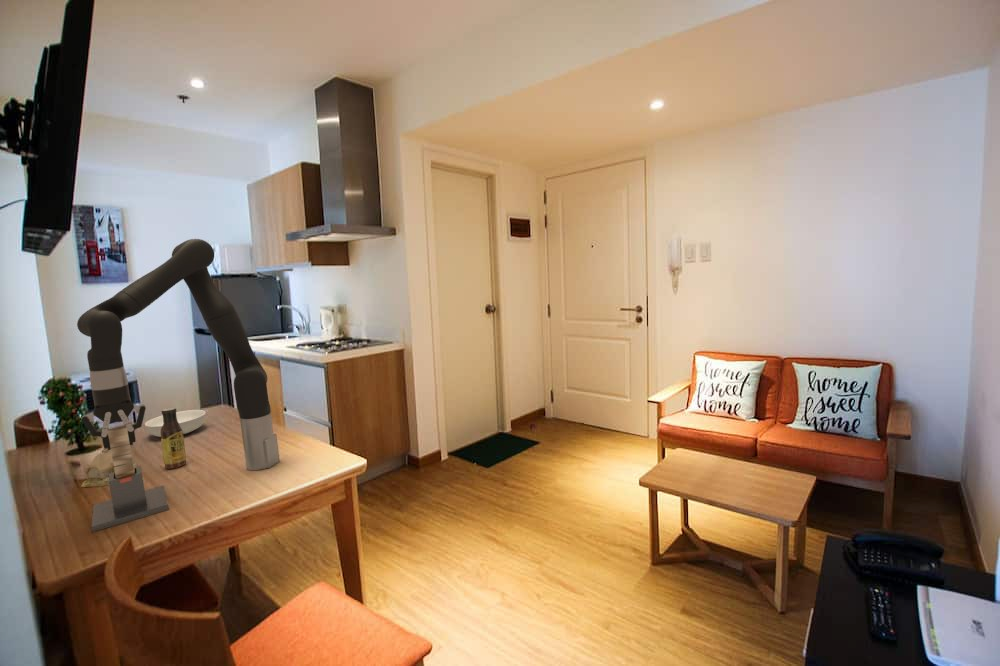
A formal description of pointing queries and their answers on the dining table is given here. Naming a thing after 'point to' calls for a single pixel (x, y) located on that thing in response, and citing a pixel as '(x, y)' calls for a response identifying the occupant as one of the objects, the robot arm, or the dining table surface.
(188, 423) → the serving bowl
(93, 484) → the ceramic model
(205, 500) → the dining table surface
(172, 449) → the sauce bottle
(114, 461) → the ash post
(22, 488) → the dining table surface
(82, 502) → the dining table surface
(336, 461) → the dining table surface
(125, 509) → the graphite stand
